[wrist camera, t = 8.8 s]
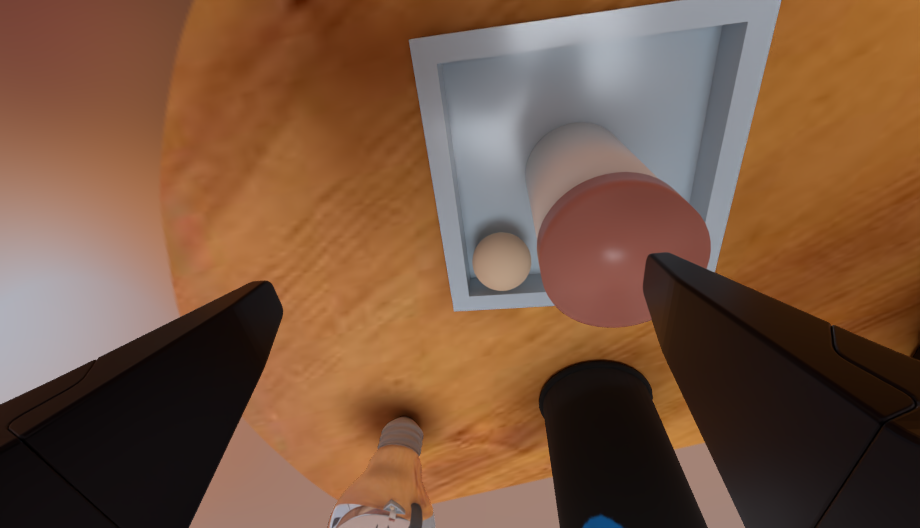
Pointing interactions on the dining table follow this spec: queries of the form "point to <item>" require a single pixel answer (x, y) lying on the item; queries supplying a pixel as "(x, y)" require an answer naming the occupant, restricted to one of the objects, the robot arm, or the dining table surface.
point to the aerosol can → (612, 452)
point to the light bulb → (388, 485)
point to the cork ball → (501, 261)
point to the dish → (586, 114)
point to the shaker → (604, 224)
